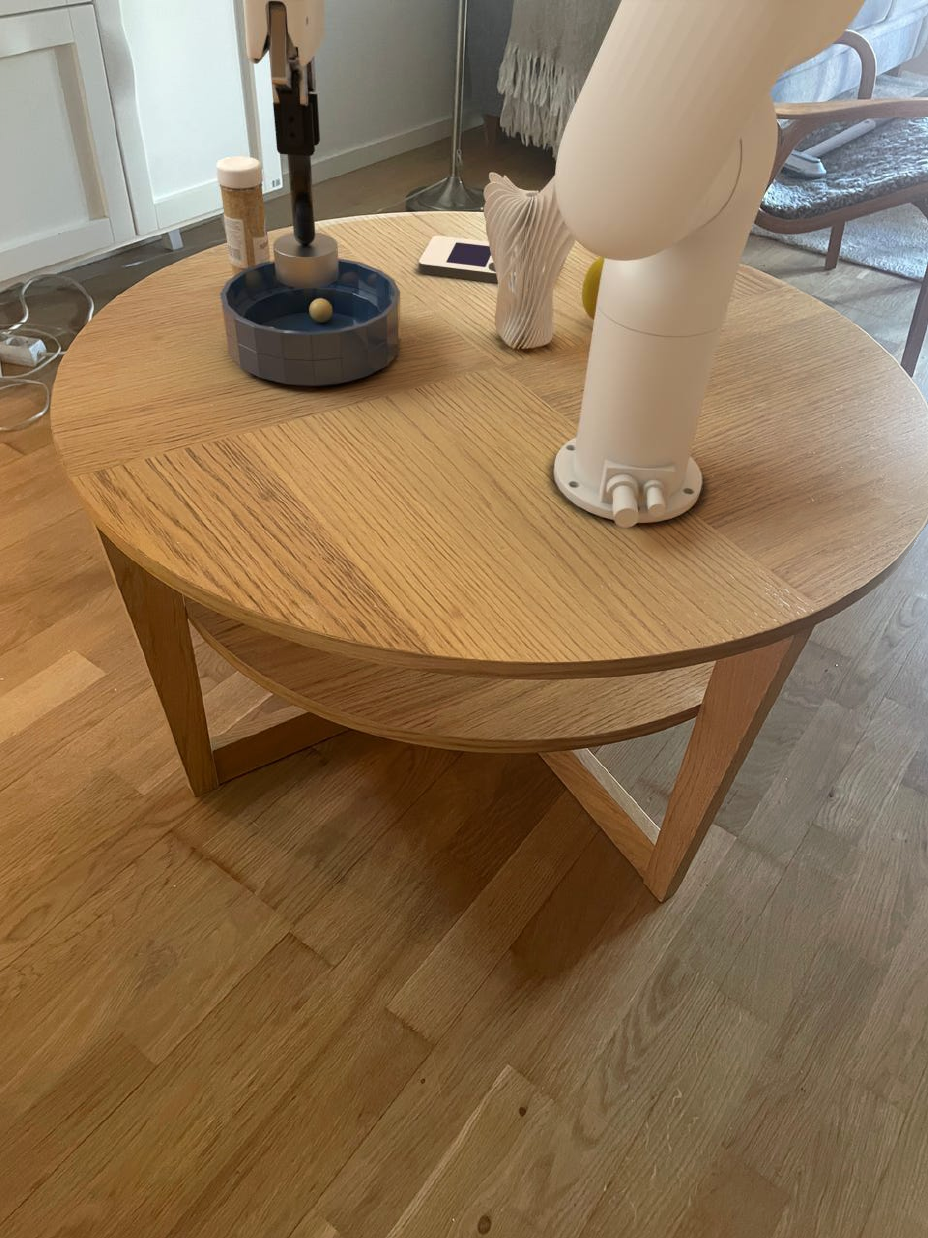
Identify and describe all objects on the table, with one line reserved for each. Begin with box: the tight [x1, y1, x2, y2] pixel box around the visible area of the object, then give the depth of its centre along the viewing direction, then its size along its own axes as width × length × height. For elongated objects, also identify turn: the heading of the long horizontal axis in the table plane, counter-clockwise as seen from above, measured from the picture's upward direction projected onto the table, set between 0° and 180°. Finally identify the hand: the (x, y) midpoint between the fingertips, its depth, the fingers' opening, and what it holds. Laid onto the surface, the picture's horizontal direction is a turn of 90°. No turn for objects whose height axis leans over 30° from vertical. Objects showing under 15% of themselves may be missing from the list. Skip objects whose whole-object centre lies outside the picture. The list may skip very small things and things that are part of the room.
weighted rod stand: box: [272, 77, 339, 289], centre depth 83 cm, size 6×6×17 cm
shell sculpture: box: [483, 172, 577, 350], centre depth 90 cm, size 8×8×18 cm
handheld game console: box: [418, 235, 545, 286], centre depth 110 cm, size 9×15×1 cm, turn 79°
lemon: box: [581, 256, 605, 321], centre depth 98 cm, size 6×6×8 cm
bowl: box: [219, 257, 402, 387], centre depth 92 cm, size 17×17×6 cm
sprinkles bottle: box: [215, 155, 271, 277], centre depth 99 cm, size 5×5×14 cm
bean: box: [309, 298, 333, 323], centre depth 96 cm, size 2×2×2 cm
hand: (298, 146), depth 81 cm, fingers closed on weighted rod stand
